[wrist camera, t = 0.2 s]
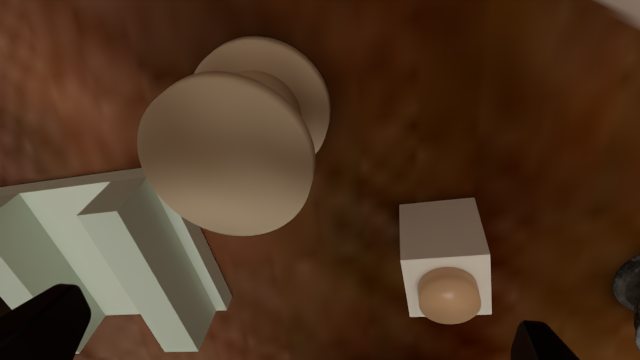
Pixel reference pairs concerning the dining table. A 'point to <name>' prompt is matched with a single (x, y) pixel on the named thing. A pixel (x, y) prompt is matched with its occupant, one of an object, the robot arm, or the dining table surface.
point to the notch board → (85, 250)
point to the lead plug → (445, 260)
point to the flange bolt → (630, 291)
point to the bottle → (4, 307)
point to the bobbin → (238, 137)
